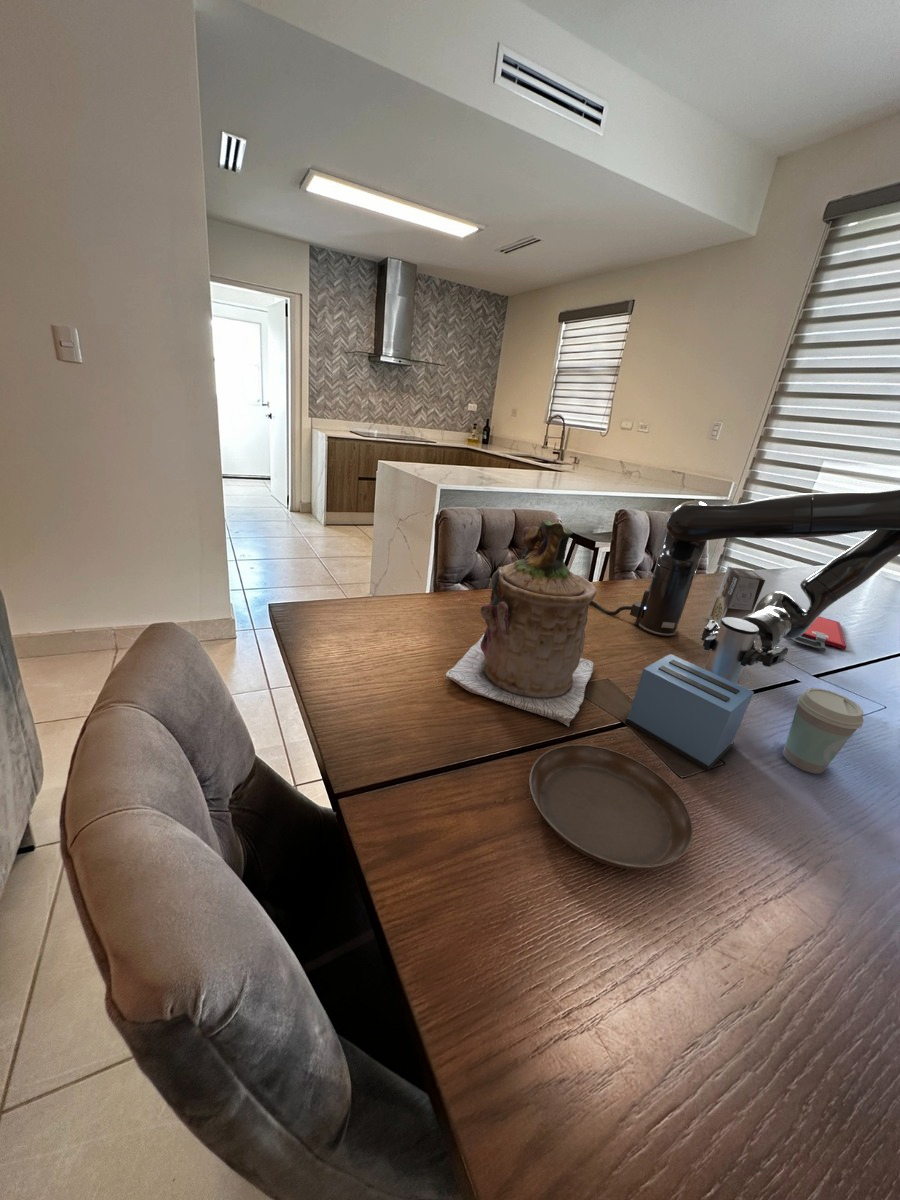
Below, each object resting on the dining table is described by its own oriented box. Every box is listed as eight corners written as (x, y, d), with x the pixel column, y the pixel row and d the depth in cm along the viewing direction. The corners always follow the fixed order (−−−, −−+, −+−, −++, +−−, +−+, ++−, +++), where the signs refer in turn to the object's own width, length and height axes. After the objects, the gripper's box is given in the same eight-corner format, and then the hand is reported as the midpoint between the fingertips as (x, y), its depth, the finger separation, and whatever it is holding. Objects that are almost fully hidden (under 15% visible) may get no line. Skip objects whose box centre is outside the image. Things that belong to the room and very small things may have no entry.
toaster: (624, 721, 83) (641, 667, 79) (655, 701, 90) (672, 650, 86) (707, 771, 73) (732, 712, 69) (734, 744, 81) (758, 689, 76)
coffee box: (743, 637, 124) (766, 580, 118) (718, 632, 125) (739, 575, 119) (732, 623, 133) (752, 569, 126) (708, 619, 133) (727, 565, 127)
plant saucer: (522, 749, 73) (526, 732, 72) (657, 771, 72) (663, 754, 71) (529, 869, 54) (534, 849, 53) (712, 902, 53) (722, 881, 52)
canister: (695, 679, 87) (716, 621, 82) (708, 671, 90) (729, 614, 86) (728, 695, 83) (752, 634, 78) (740, 685, 86) (764, 627, 82)
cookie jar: (595, 669, 99) (635, 520, 87) (572, 732, 78) (620, 549, 66) (486, 635, 108) (509, 496, 96) (439, 684, 87) (461, 514, 75)
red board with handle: (777, 639, 125) (846, 661, 117) (782, 629, 124) (851, 651, 116) (779, 609, 148) (837, 626, 141) (783, 601, 147) (841, 618, 140)
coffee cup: (817, 786, 73) (851, 723, 68) (763, 750, 80) (790, 691, 75) (844, 772, 77) (878, 711, 72) (790, 739, 84) (818, 682, 79)
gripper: (726, 601, 96) (691, 618, 86) (807, 628, 87) (779, 651, 76) (714, 633, 99) (679, 653, 88) (792, 664, 89) (762, 691, 79)
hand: (725, 652), depth 82 cm, fingers closed on canister, 5 cm apart
